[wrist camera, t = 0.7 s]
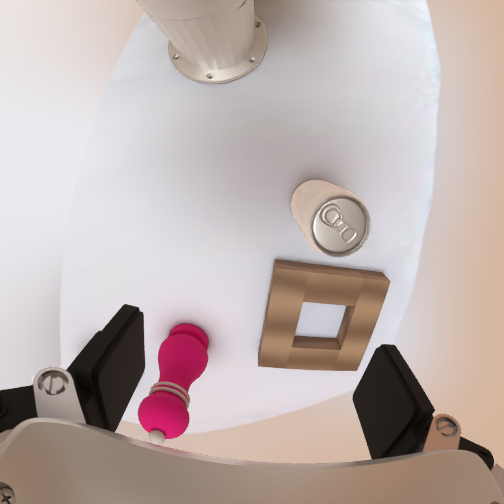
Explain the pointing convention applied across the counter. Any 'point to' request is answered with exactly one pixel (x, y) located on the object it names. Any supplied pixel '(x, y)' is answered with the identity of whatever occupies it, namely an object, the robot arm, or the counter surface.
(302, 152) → the counter surface
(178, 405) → the pepper mill
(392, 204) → the counter surface
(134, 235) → the counter surface
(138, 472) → the robot arm
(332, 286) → the socket board
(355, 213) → the can
